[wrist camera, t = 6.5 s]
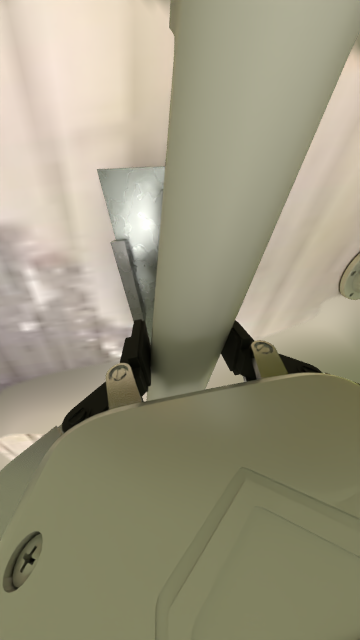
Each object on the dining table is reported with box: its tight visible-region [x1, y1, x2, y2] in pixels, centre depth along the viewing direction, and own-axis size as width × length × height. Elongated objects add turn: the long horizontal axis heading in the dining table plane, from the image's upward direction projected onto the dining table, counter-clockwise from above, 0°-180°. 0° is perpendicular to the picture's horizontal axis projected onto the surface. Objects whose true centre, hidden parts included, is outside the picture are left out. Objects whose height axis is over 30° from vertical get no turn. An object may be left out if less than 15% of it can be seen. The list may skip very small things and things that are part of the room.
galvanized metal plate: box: [97, 166, 165, 344], centre depth 22 cm, size 12×25×4 cm, turn 4°
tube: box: [147, 0, 360, 401], centre depth 10 cm, size 5×5×25 cm
